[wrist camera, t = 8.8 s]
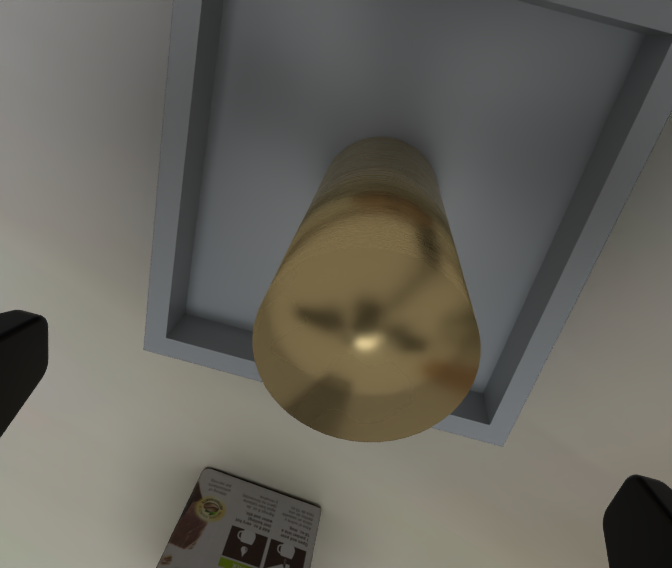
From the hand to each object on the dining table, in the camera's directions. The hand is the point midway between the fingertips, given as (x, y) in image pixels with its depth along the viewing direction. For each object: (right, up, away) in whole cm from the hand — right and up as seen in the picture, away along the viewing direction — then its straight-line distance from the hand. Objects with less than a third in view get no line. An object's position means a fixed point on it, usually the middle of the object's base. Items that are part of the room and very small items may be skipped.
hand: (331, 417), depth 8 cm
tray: (+2, +5, +11) cm, 12 cm away
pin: (+2, +5, +10) cm, 12 cm away
